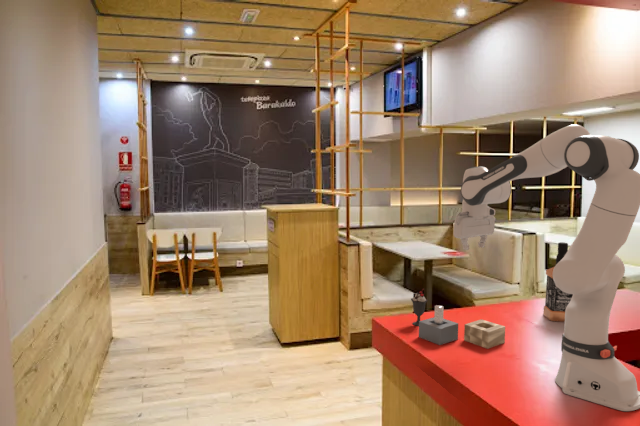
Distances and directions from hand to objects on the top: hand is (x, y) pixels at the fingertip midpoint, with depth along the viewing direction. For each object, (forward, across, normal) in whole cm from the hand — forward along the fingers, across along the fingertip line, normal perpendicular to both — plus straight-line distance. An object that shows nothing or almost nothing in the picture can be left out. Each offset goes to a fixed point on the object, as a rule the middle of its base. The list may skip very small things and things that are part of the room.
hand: (473, 248), depth 177 cm
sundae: (+33, -6, +21) cm, 40 cm away
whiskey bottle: (+34, +48, -9) cm, 59 cm away
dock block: (+33, -12, +6) cm, 36 cm away
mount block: (+33, -1, -6) cm, 34 cm away
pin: (+33, -12, +6) cm, 36 cm away
